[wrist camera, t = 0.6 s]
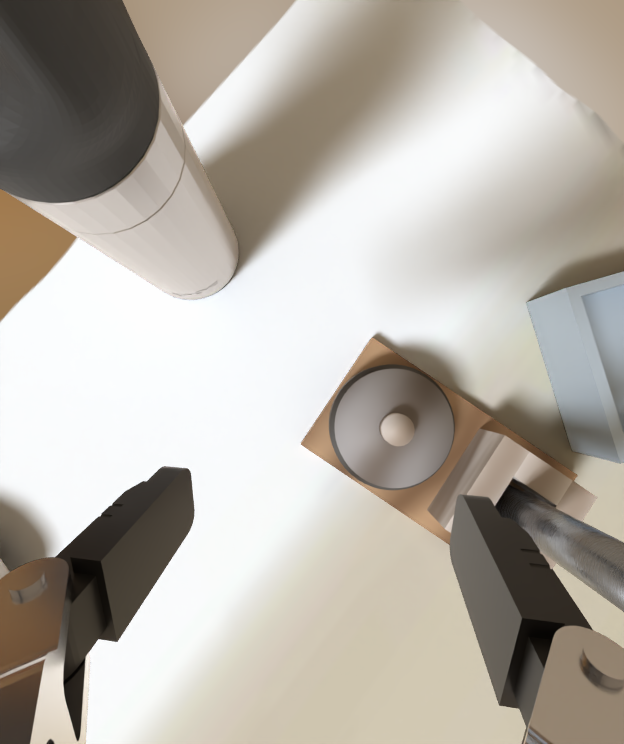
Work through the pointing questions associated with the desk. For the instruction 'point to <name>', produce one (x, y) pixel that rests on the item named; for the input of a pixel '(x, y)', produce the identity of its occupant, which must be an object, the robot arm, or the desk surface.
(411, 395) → the board
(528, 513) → the lock pin
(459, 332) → the desk surface
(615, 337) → the pin tray
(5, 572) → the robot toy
